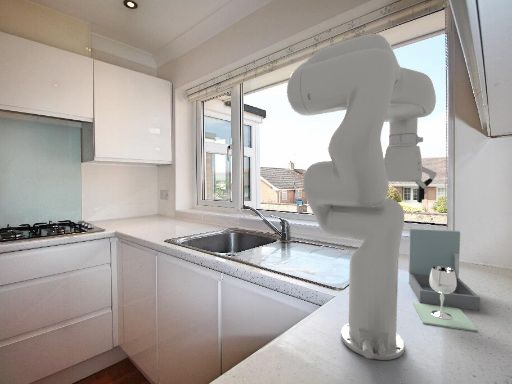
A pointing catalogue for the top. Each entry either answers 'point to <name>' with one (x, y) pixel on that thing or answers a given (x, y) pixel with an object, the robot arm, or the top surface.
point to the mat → (456, 322)
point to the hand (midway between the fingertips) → (400, 201)
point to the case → (437, 254)
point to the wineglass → (442, 286)
